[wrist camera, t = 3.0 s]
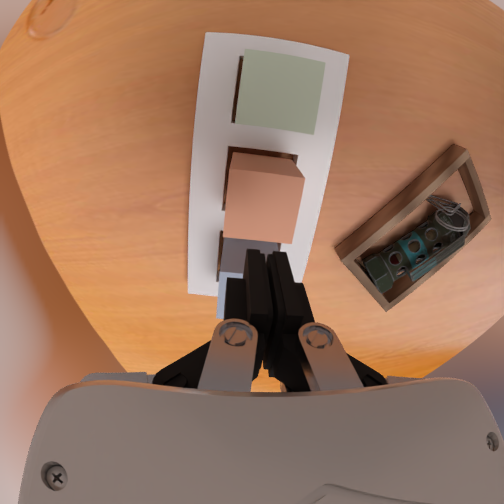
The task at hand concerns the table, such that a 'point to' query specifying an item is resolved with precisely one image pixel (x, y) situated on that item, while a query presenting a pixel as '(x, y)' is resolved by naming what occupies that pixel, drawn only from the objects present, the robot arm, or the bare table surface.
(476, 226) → the grenade cradle
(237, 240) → the slate block
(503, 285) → the table surface
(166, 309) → the table surface
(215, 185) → the board
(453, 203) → the stun grenade
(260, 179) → the terracotta block
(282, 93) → the sage block
